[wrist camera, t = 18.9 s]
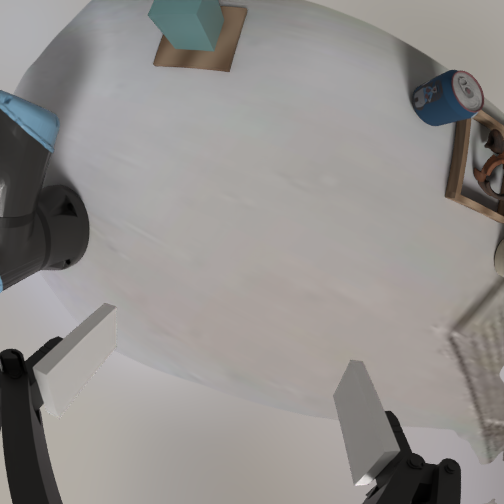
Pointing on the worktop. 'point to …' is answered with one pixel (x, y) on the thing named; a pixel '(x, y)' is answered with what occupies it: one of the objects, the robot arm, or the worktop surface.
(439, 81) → the soda can
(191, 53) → the brown square base plate
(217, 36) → the tall teal pillar
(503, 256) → the travel mug
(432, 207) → the worktop surface
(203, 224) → the worktop surface
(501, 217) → the mug frame
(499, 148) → the pottery mug
